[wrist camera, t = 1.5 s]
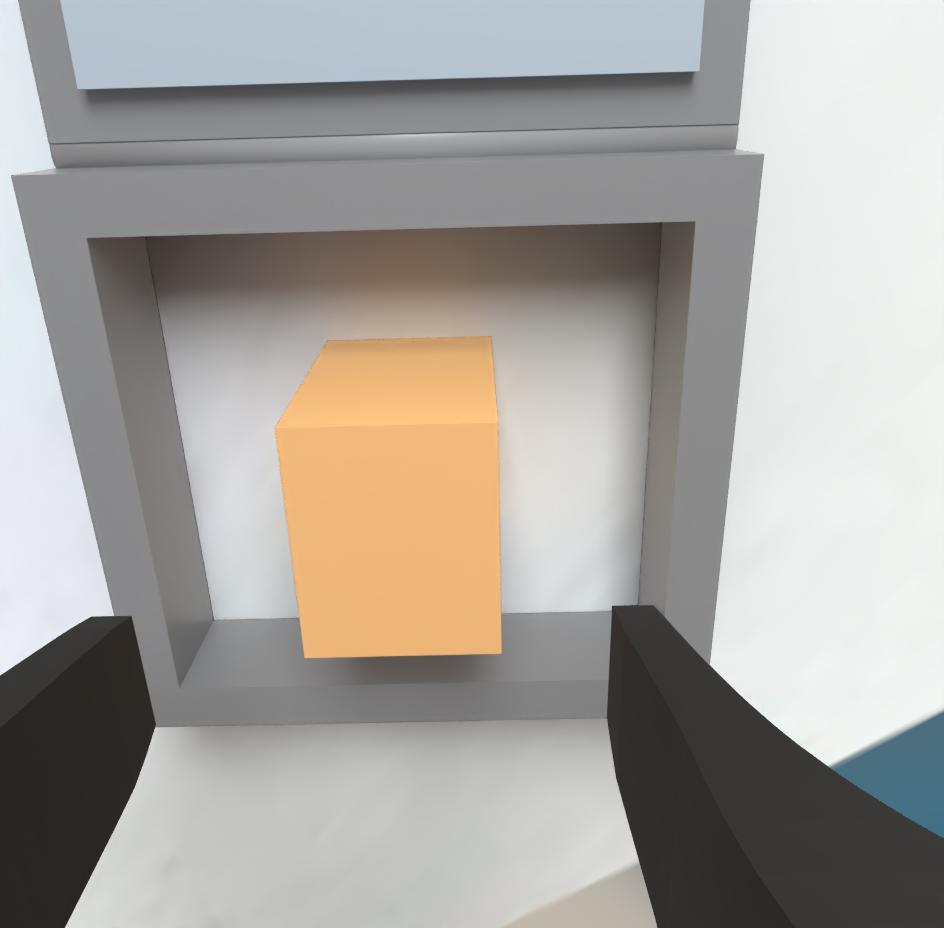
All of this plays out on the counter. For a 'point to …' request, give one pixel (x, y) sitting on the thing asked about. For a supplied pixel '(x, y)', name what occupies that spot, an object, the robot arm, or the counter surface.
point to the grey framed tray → (382, 208)
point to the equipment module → (395, 498)
